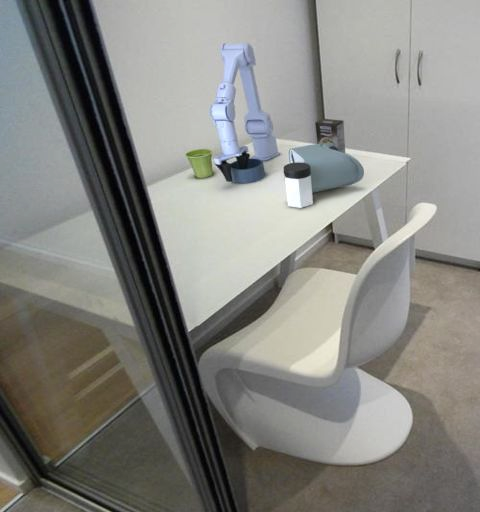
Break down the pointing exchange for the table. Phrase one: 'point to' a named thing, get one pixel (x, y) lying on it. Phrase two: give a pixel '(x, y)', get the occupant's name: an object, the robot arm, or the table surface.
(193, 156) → the plant pot
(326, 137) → the coffee box
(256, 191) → the table surface
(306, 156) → the grey-blue rounded tapered piece
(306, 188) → the jar
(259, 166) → the tub
